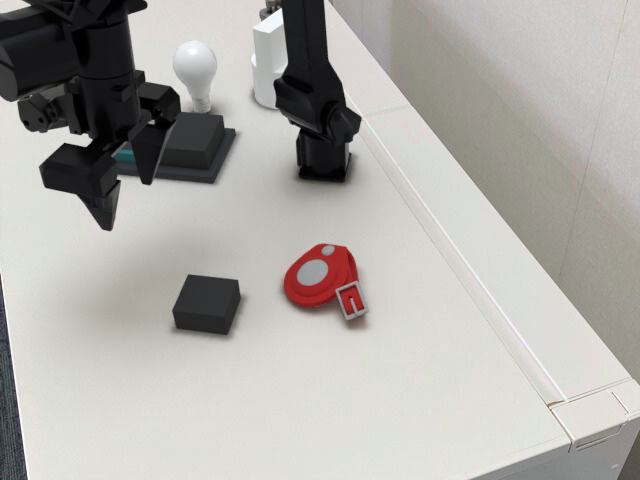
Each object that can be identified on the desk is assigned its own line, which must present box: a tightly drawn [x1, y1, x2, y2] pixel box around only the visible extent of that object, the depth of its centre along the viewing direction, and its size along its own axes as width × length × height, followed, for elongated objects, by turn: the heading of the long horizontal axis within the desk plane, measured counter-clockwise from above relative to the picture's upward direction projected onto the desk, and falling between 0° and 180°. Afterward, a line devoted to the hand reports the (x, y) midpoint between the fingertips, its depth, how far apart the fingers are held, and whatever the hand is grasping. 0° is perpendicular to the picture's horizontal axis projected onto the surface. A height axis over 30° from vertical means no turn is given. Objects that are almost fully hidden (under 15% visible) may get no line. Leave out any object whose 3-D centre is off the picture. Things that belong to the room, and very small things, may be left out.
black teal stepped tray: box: [90, 111, 237, 184], centre depth 109 cm, size 19×12×4 cm, turn 81°
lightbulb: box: [171, 39, 218, 114], centre depth 113 cm, size 6×6×11 cm
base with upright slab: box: [250, 8, 288, 111], centre depth 116 cm, size 9×9×12 cm
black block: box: [171, 273, 242, 336], centre depth 88 cm, size 6×6×3 cm
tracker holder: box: [283, 243, 370, 321], centre depth 90 cm, size 12×4×10 cm
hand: (127, 206), depth 83 cm, fingers open, 9 cm apart
